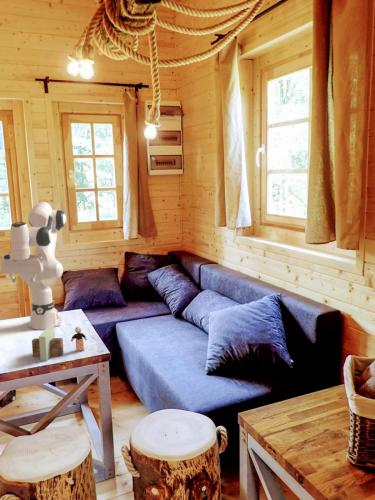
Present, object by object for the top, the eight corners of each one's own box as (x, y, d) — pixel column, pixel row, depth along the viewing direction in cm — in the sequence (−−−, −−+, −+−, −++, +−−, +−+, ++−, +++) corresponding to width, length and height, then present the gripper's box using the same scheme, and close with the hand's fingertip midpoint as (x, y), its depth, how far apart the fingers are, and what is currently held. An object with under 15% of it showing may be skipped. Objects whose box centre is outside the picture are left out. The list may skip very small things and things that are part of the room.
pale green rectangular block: (49, 349, 216) (48, 326, 215) (55, 349, 216) (54, 326, 215) (40, 360, 203) (38, 336, 201) (46, 360, 203) (45, 336, 201)
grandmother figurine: (86, 347, 218) (84, 323, 216) (88, 350, 214) (86, 326, 212) (70, 350, 214) (69, 326, 212) (72, 353, 211) (71, 328, 209)
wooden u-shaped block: (33, 356, 208) (31, 340, 207) (35, 354, 211) (33, 338, 210) (61, 355, 208) (60, 340, 207) (63, 353, 211) (62, 337, 210)
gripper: (44, 253, 217) (46, 280, 219) (3, 254, 217) (6, 280, 219) (40, 255, 211) (42, 283, 213) (-2, 256, 211) (0, 283, 213)
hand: (23, 281), depth 216 cm, fingers open, 8 cm apart
